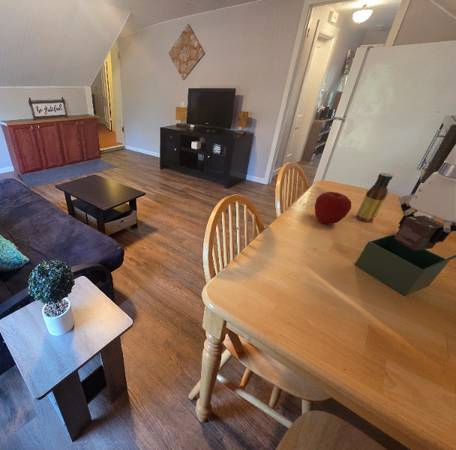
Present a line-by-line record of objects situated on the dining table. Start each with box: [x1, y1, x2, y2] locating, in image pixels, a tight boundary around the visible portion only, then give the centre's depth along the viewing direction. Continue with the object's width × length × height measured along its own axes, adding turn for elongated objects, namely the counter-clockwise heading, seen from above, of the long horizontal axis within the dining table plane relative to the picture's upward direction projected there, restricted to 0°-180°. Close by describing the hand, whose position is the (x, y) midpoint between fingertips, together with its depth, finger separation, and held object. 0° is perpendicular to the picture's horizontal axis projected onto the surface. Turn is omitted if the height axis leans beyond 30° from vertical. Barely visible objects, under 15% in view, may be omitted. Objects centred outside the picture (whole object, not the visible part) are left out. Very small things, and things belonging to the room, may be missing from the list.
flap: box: [426, 254, 456, 269], centre depth 61 cm, size 7×12×1 cm
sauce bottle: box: [356, 172, 393, 223], centre depth 99 cm, size 7×6×20 cm
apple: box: [314, 191, 352, 225], centre depth 98 cm, size 12×12×13 cm
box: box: [394, 216, 444, 250], centre depth 67 cm, size 6×6×7 cm
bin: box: [354, 233, 450, 297], centre depth 72 cm, size 14×12×9 cm
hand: (418, 234), depth 67 cm, fingers closed on box, 6 cm apart
